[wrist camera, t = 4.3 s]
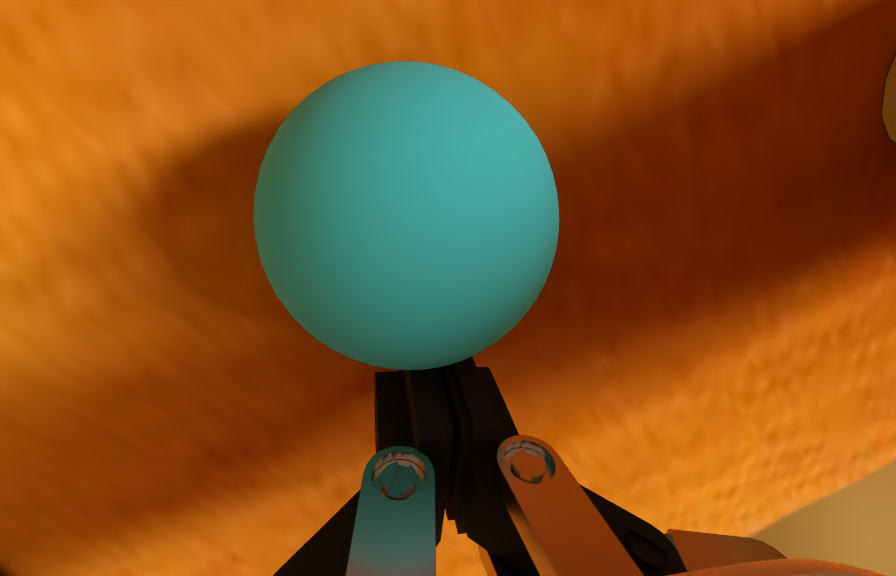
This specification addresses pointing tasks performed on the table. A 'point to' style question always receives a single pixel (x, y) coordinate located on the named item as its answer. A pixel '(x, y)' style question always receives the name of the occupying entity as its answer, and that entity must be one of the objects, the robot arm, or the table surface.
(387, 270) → the ball
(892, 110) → the book
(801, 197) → the table surface
